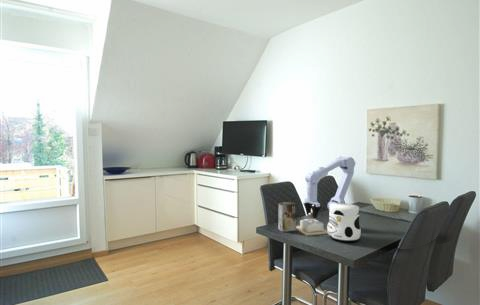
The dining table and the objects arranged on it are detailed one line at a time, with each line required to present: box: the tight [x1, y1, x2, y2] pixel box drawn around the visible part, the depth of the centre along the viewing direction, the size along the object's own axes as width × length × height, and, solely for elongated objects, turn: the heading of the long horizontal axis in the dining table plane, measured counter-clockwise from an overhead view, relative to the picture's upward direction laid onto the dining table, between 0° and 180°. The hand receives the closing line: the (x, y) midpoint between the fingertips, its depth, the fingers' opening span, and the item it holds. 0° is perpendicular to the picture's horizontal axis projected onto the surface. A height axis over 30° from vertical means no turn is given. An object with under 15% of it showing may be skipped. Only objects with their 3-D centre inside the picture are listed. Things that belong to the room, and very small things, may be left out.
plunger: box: [304, 211, 320, 224], centre depth 183 cm, size 7×7×6 cm
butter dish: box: [296, 218, 328, 236], centre depth 183 cm, size 16×17×5 cm
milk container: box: [326, 202, 362, 242], centre depth 168 cm, size 17×17×18 cm
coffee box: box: [277, 201, 297, 233], centre depth 183 cm, size 9×6×16 cm
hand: (311, 216), depth 183 cm, fingers open, 7 cm apart
